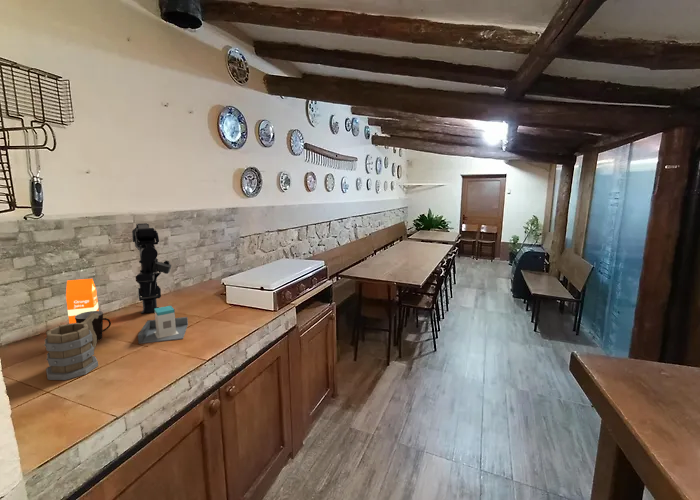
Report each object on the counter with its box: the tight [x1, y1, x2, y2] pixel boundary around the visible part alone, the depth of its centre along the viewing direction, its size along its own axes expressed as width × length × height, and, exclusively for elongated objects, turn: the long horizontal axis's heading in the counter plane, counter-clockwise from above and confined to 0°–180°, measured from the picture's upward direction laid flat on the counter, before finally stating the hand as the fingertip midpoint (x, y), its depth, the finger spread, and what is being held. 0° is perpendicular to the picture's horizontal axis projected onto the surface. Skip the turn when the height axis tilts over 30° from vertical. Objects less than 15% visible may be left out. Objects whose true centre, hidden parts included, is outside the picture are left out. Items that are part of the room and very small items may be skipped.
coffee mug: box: [75, 310, 112, 342], centre depth 132 cm, size 12×9×10 cm
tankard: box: [43, 313, 99, 381], centre depth 114 cm, size 20×13×15 cm, turn 179°
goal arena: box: [137, 316, 189, 345], centre depth 140 cm, size 15×15×4 cm
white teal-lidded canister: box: [154, 305, 176, 337], centre depth 139 cm, size 6×6×10 cm
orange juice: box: [65, 278, 100, 324], centre depth 146 cm, size 8×9×20 cm
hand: (151, 292), depth 151 cm, fingers open, 9 cm apart
